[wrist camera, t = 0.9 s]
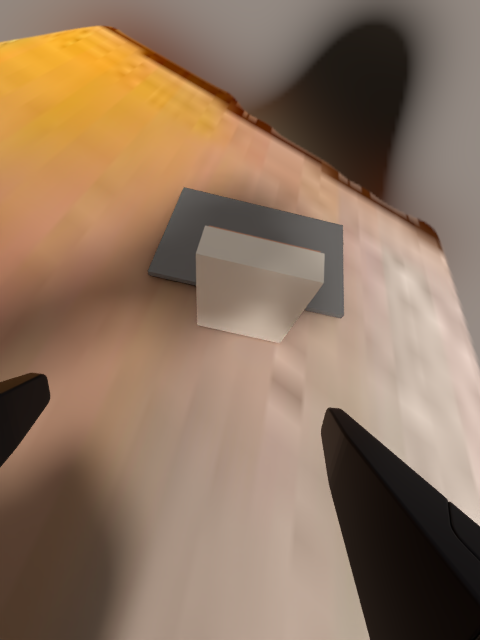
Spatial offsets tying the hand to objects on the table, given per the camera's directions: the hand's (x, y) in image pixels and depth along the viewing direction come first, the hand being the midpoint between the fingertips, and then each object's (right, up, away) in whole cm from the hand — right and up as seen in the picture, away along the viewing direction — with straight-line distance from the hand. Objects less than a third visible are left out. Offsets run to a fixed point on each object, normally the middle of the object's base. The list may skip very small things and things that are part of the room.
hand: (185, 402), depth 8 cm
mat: (+4, +11, +21) cm, 24 cm away
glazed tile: (+2, +2, +17) cm, 17 cm away
